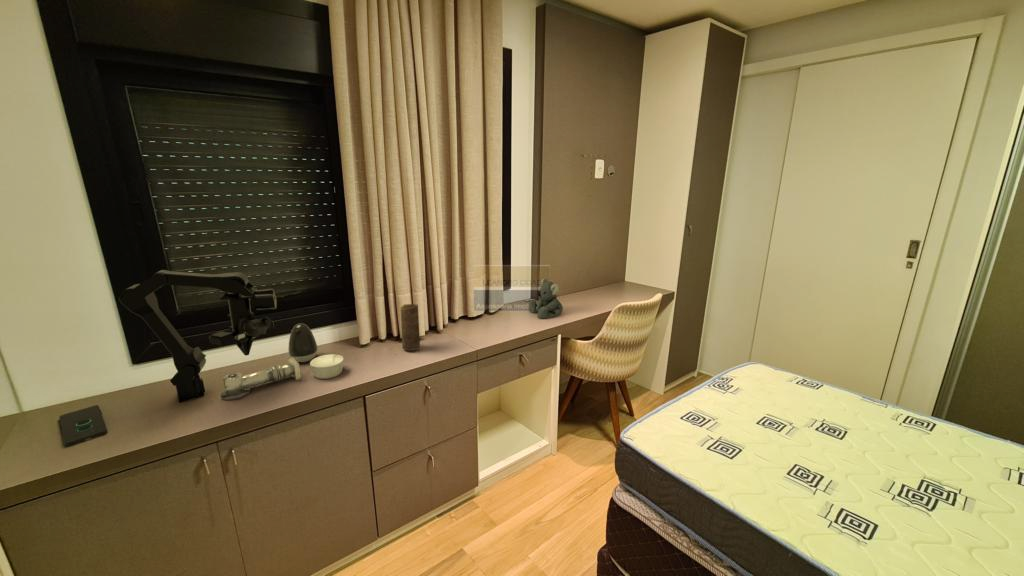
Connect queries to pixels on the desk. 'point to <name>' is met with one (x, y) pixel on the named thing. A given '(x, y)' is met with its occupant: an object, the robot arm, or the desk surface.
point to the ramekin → (327, 366)
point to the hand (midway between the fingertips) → (246, 355)
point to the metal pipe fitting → (283, 372)
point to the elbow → (248, 380)
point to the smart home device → (82, 425)
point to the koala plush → (546, 301)
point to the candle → (410, 327)
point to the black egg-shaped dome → (302, 343)
